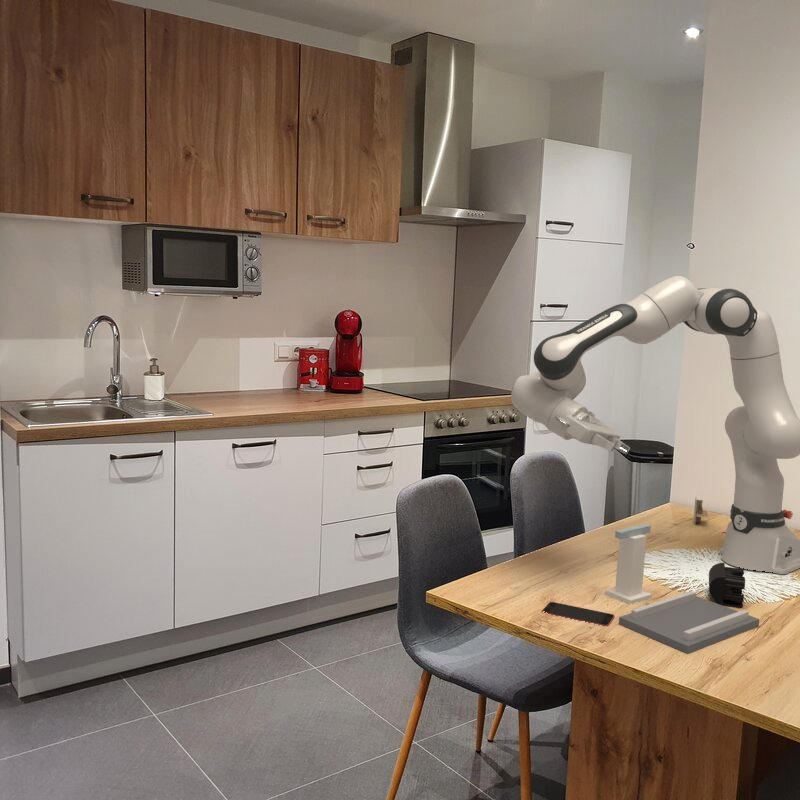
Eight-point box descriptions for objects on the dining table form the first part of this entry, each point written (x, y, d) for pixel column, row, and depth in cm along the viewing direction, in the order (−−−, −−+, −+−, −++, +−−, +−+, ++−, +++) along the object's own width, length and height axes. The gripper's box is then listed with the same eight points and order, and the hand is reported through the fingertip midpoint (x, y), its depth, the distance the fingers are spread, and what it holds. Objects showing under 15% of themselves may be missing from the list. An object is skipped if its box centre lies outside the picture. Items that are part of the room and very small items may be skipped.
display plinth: (690, 600, 182) (691, 587, 181) (758, 626, 169) (760, 612, 169) (618, 624, 168) (619, 609, 167) (687, 653, 155) (688, 638, 154)
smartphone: (550, 600, 178) (615, 614, 172) (549, 603, 178) (615, 617, 172) (540, 611, 172) (608, 626, 166) (539, 614, 172) (607, 628, 166)
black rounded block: (707, 589, 189) (709, 560, 189) (740, 594, 187) (743, 565, 186) (707, 604, 180) (710, 574, 179) (742, 609, 178) (745, 579, 177)
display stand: (600, 595, 183) (605, 527, 181) (629, 587, 189) (634, 521, 187) (626, 606, 177) (631, 536, 175) (655, 597, 183) (661, 529, 181)
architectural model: (705, 522, 246) (707, 498, 245) (707, 528, 239) (709, 503, 238) (693, 521, 247) (695, 496, 246) (694, 527, 240) (696, 502, 239)
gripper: (558, 403, 183) (611, 433, 176) (592, 412, 200) (642, 440, 193) (544, 428, 184) (596, 459, 177) (580, 435, 201) (628, 464, 194)
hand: (620, 449), depth 185 cm, fingers open, 8 cm apart
